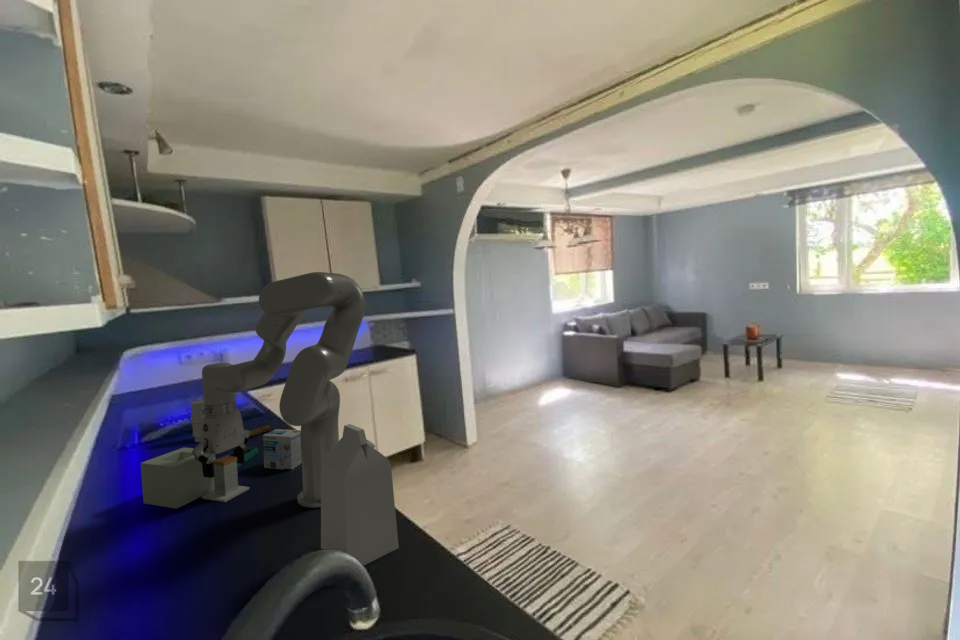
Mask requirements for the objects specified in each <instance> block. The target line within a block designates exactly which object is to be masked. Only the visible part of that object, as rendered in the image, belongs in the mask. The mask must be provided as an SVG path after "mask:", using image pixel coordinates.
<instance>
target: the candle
mask: <svg viewBox="0 0 960 640" xmlns="http://www.w3.org/2000/svg"><path fill="white" fill-rule="evenodd" d="M189 404H190V405H191V416H190V419H191V420H190V421H191V428H192V437H193V438H194V443H201V431H202V421H203V417H205V414H202V412H201V411H202V410H203V409H204V399H198V400H194V401H190V403H189Z"/></svg>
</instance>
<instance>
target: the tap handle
mask: <svg viewBox="0 0 960 640" xmlns="http://www.w3.org/2000/svg"><path fill="white" fill-rule="evenodd" d="M270 429H271V430H272V426H271V425H270V424H267V425H264V426H260V427H256V428H253V429H251V430H249V431H250V434H249V437H251V436H254V435H257V434H259V433H262V432H264V431H267V430H270ZM254 437H255V436H254ZM251 438H252V437H251Z"/></svg>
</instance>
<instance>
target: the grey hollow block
mask: <svg viewBox="0 0 960 640" xmlns="http://www.w3.org/2000/svg"><path fill="white" fill-rule="evenodd" d="M194 448H195V447H194ZM194 448H192V447H182V448H178V449H175V450H173V451H169V452H167V453H165V454H162V455H159V456H156V457H153V458H150V459H148V460H145V461H142V462H140V473H141V487H142V499H143V504H145V505H152V506H159V507H165V508H168V509H169V508H170V509H175V510H176V509H178V508H181V507H183V506H185V505H187V504H189V503H191V502H194V501H195V500H198V499H199V498H202V496H204V495H206V494H208V493H210V492H212V491H214V490H215V487H214V477H213V478H208V477H204V476H203V469H202V463H200V462H199V461H198V460H196V459H195V457H194V455H193V454H192V450H193V449H194ZM201 453H202V455H203V453H204V452H203V451H201ZM208 456H209V454H208ZM208 456H207V458H208ZM216 459H217V458H216V454H215V455H214V457H213V459H212V461H213V460H216ZM212 461H211V462H212Z"/></svg>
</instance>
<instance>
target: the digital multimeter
mask: <svg viewBox="0 0 960 640" xmlns="http://www.w3.org/2000/svg"><path fill="white" fill-rule="evenodd" d="M257 453H258V454H259V448H258V447H256V446H246V448H245V449H244V460H245V463H247V462H248V461H249V460H250V459H252V458H253V457H255V456H256V455H255V454H257ZM258 454H257V455H258ZM254 455H255V456H254ZM225 456H233V457H234V450H232V451H231V452H229V453H228V454H225ZM251 457H252V458H251ZM248 459H249V460H248ZM242 465H243V464H239V463H237V469H238V468H239V467H240V466H242Z"/></svg>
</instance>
